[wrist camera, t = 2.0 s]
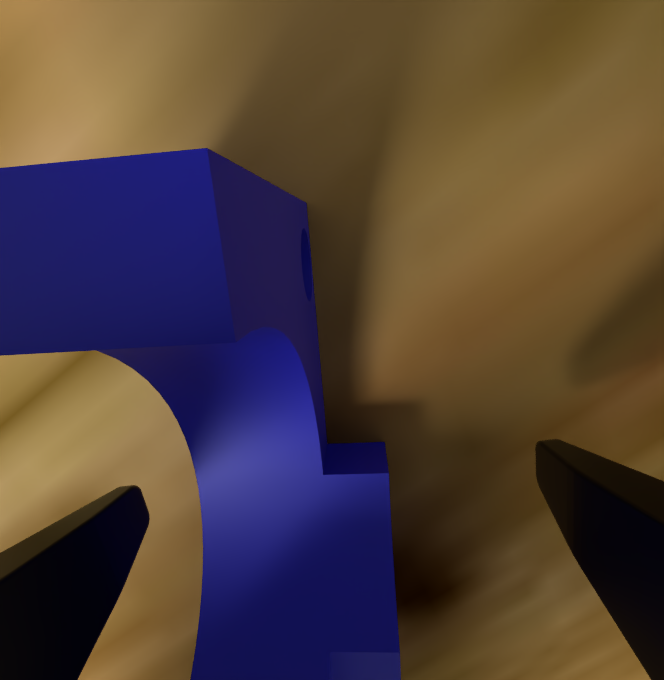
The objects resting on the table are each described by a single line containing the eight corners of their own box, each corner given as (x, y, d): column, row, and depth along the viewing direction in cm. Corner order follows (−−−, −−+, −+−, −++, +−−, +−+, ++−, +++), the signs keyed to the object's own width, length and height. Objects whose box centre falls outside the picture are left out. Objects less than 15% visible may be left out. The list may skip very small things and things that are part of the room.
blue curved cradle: (391, 612, 12) (424, 982, 6) (247, 612, 12) (148, 961, 6) (374, 197, 8) (412, 128, 3) (178, 214, 9) (-156, 184, 3)
